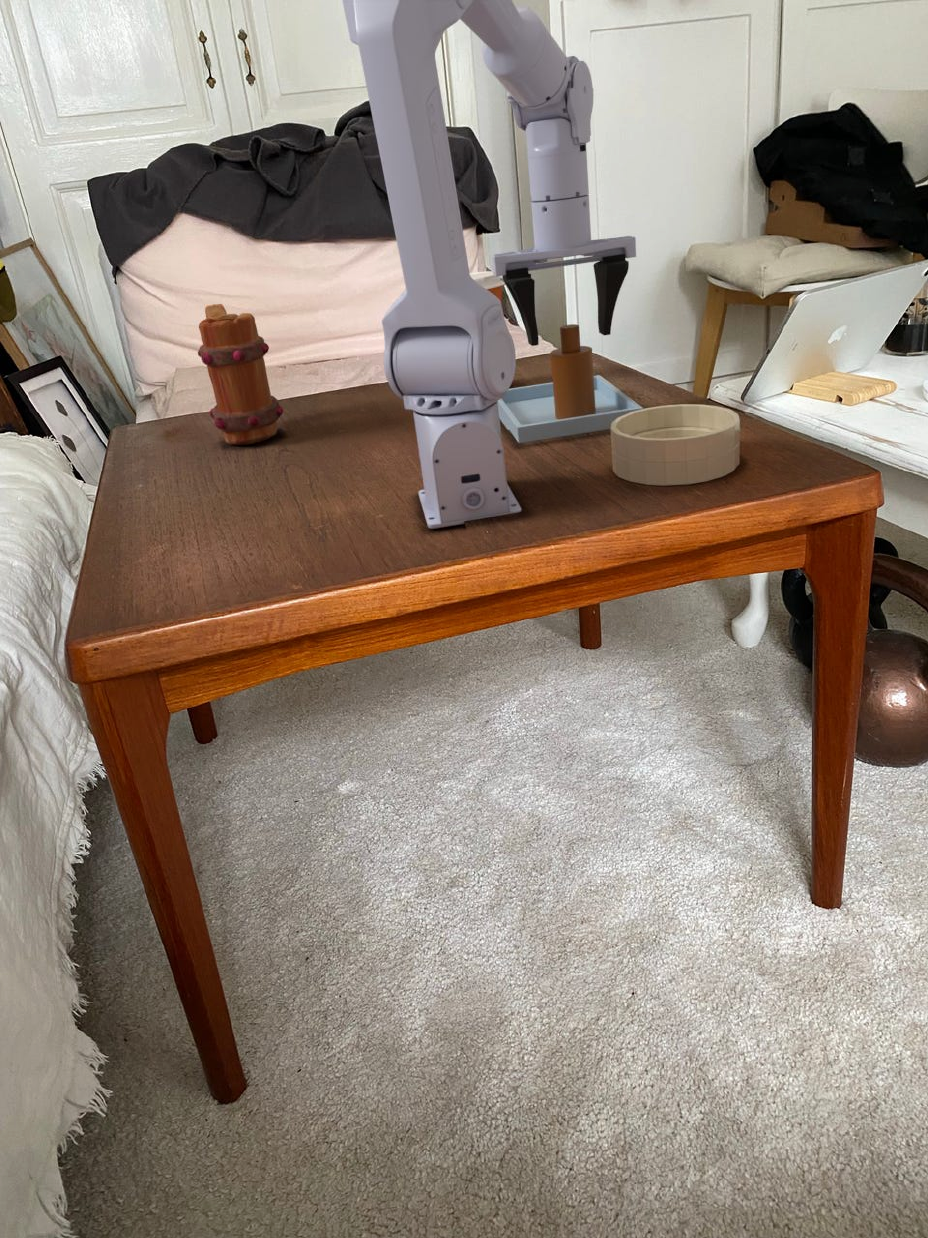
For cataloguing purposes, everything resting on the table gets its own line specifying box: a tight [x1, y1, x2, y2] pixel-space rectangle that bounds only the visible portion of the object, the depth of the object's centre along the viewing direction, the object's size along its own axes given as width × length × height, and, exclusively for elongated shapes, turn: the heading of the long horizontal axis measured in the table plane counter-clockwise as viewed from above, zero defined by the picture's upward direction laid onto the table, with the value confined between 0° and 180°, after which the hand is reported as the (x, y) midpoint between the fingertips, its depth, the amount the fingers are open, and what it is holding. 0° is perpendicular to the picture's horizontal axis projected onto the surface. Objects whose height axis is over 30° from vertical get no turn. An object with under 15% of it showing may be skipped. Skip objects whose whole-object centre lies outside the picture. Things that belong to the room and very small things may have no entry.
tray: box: [498, 374, 644, 444], centre depth 105 cm, size 17×13×2 cm
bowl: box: [610, 403, 741, 487], centre depth 84 cm, size 11×11×4 cm
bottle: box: [549, 323, 596, 420], centre depth 101 cm, size 4×4×10 cm
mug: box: [197, 303, 284, 446], centre depth 112 cm, size 15×8×15 cm, turn 22°
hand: (569, 338), depth 100 cm, fingers open, 7 cm apart
